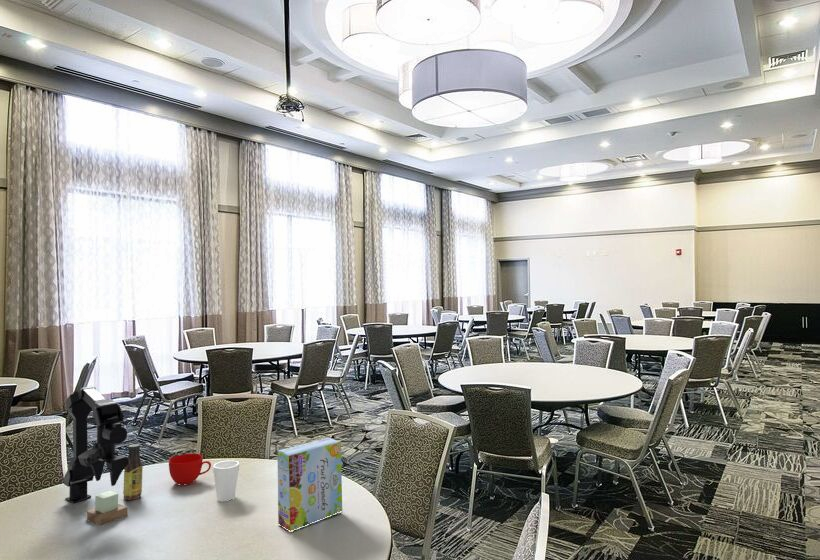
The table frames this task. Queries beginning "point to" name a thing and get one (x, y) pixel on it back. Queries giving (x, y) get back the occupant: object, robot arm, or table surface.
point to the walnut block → (107, 515)
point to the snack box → (309, 482)
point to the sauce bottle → (133, 474)
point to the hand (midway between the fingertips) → (105, 483)
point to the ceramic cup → (186, 468)
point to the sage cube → (106, 501)
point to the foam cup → (226, 479)
